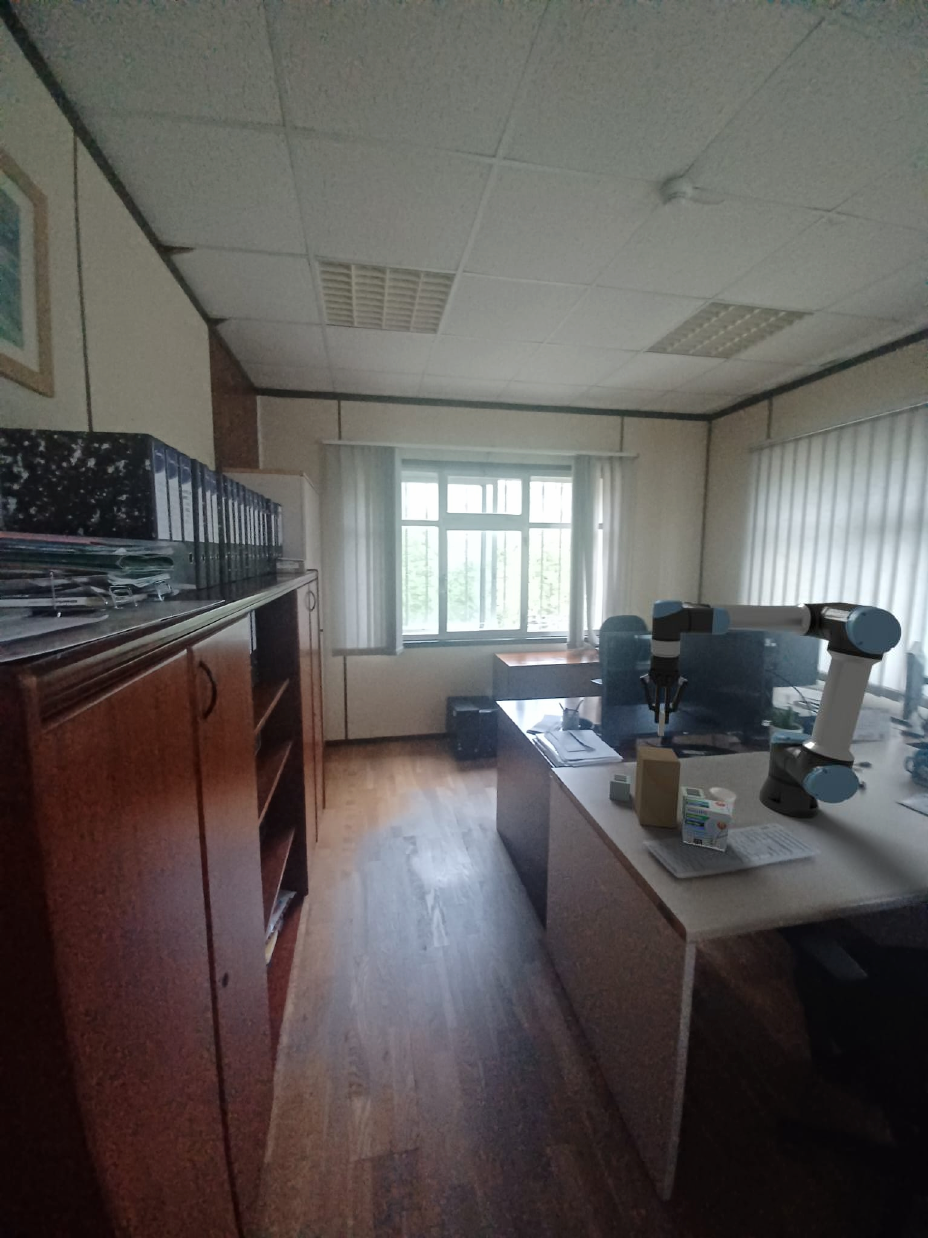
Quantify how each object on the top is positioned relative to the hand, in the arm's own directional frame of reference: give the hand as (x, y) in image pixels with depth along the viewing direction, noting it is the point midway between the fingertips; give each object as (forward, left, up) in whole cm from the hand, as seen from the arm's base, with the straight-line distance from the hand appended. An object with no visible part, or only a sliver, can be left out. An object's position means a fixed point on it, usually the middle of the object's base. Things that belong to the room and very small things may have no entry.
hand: (660, 734), depth 133 cm
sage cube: (-11, -8, -26) cm, 29 cm away
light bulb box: (-12, +8, -26) cm, 30 cm away
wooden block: (0, 0, -26) cm, 26 cm away
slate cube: (+10, -10, -26) cm, 30 cm away
